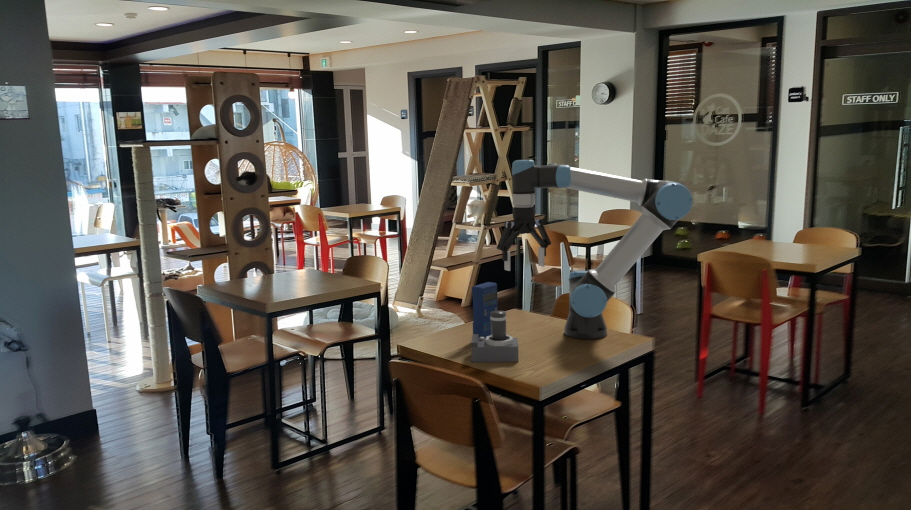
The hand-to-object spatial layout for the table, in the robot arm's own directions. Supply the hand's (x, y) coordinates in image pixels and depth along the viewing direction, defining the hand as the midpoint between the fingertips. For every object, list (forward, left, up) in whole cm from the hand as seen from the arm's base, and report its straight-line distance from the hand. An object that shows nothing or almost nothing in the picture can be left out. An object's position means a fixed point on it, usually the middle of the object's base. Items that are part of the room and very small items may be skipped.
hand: (524, 268), depth 241 cm
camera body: (+11, +15, -27) cm, 32 cm away
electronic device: (+14, -6, -27) cm, 31 cm away
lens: (+9, +15, -22) cm, 28 cm away
